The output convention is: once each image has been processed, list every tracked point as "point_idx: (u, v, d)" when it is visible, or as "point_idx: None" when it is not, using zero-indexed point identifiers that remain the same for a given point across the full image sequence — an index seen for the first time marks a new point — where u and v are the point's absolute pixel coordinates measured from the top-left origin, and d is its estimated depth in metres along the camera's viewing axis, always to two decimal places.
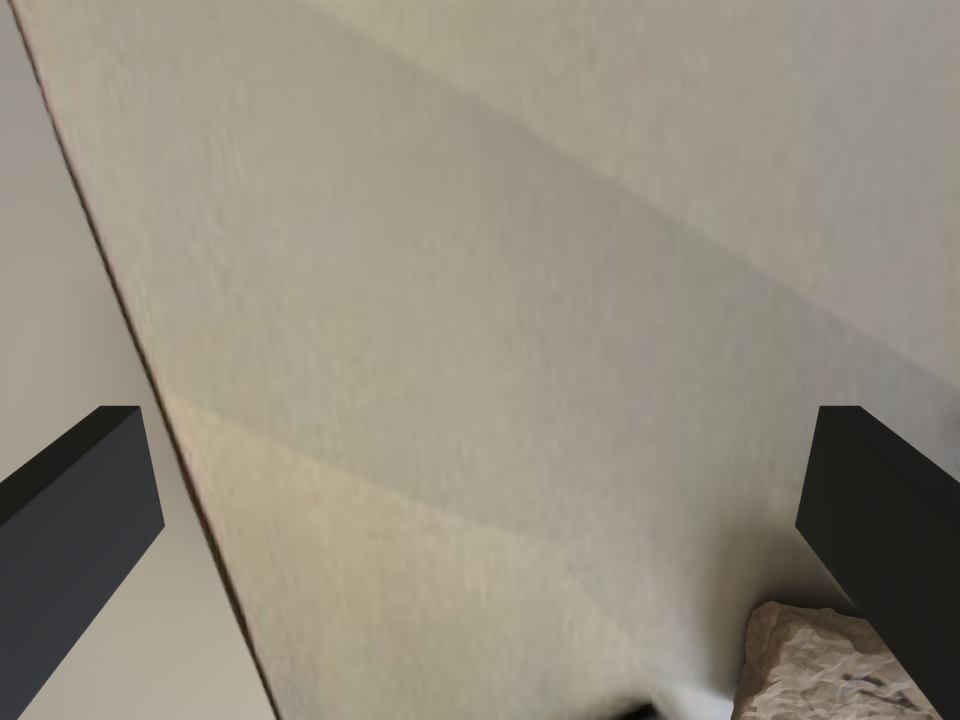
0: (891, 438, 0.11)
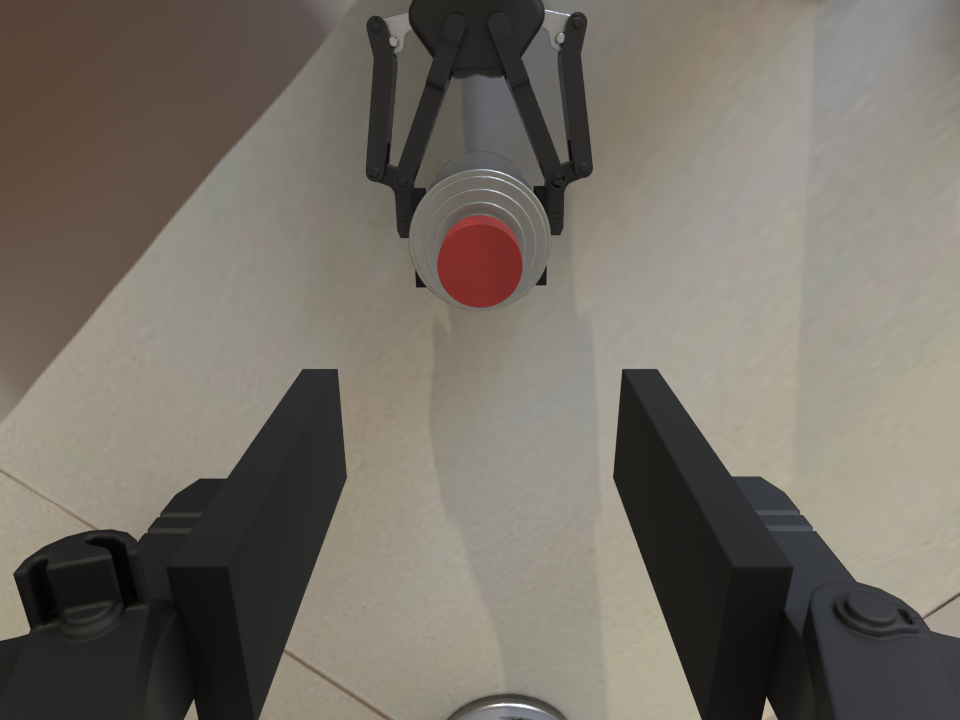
0: (665, 393, 0.13)
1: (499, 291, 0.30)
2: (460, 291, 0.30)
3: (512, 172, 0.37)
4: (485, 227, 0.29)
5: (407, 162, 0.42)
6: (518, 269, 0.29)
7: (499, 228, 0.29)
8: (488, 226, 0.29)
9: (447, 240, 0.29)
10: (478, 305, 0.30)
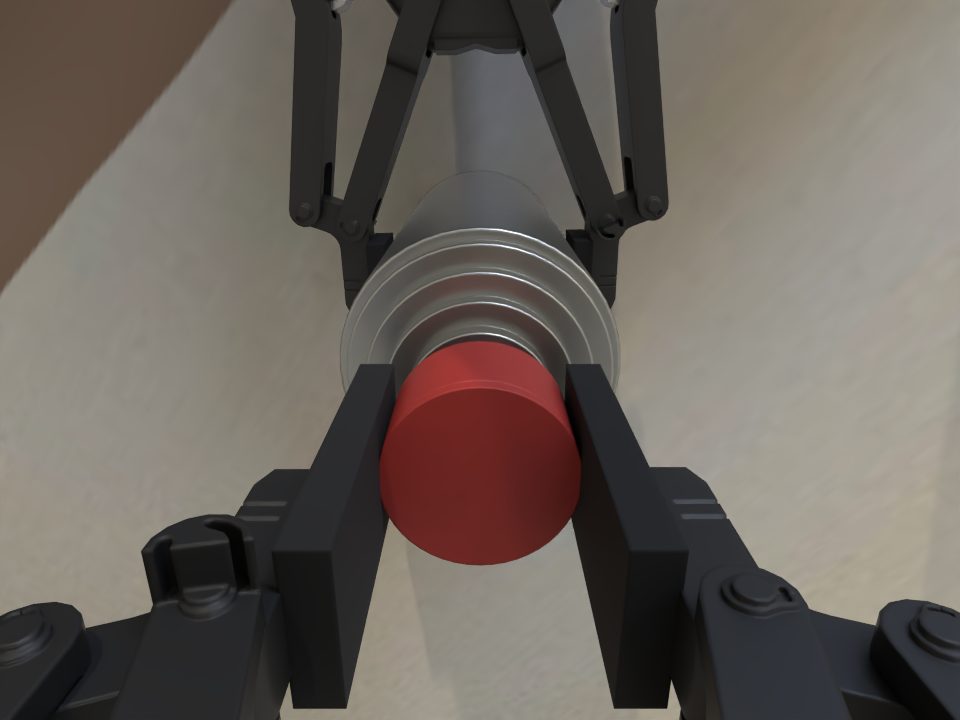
0: (602, 387, 0.13)
1: (526, 533, 0.13)
2: (434, 533, 0.13)
3: (540, 223, 0.20)
4: (493, 395, 0.12)
5: (358, 196, 0.25)
6: (572, 487, 0.12)
7: (528, 397, 0.12)
8: (501, 393, 0.12)
9: (400, 424, 0.12)
10: (476, 561, 0.13)
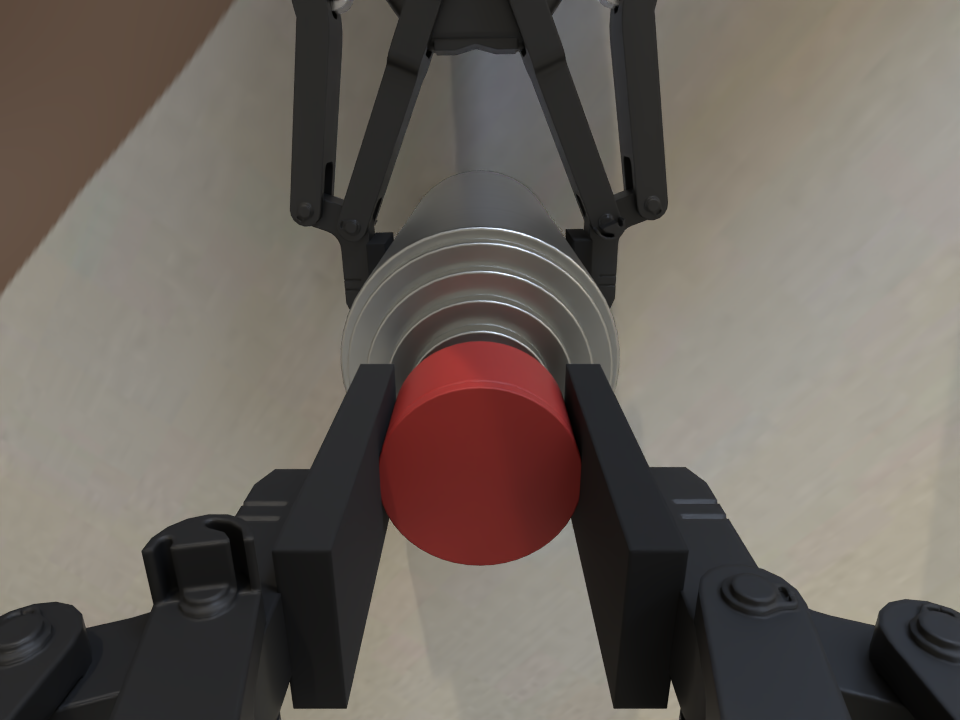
0: (602, 387, 0.13)
1: (510, 417, 0.12)
2: (556, 491, 0.12)
3: (540, 222, 0.20)
4: (394, 512, 0.12)
5: (358, 195, 0.25)
6: (437, 406, 0.12)
7: None
8: (388, 508, 0.12)
9: (465, 561, 0.13)
10: (567, 442, 0.12)
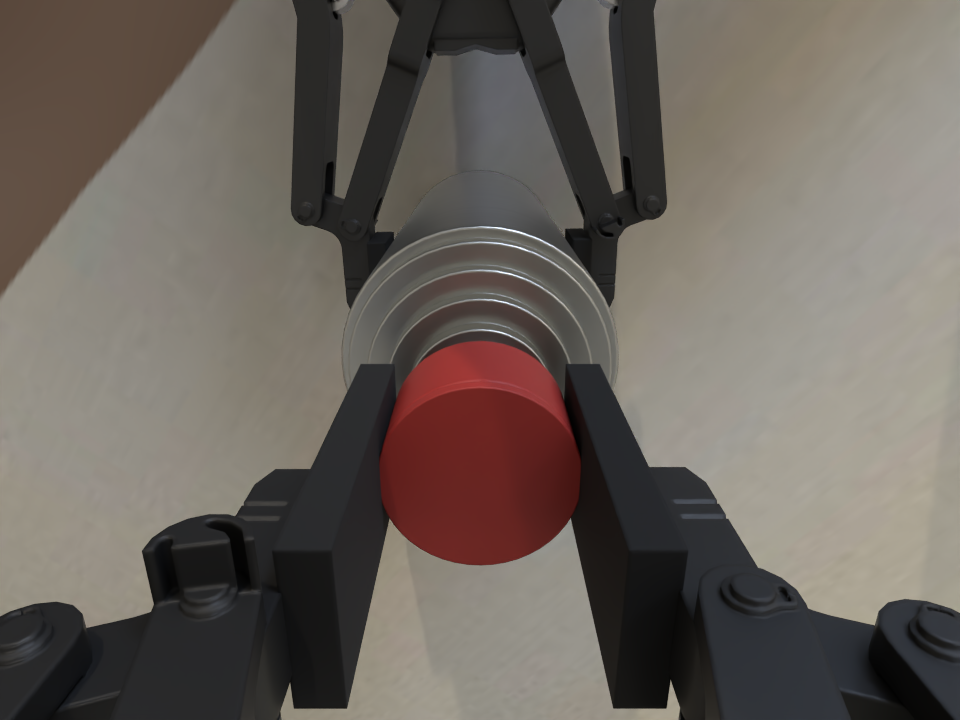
0: (602, 387, 0.13)
1: (403, 491, 0.12)
2: (449, 417, 0.12)
3: (539, 221, 0.20)
4: (552, 529, 0.13)
5: (359, 195, 0.26)
6: (430, 545, 0.13)
7: (533, 549, 0.13)
8: (551, 536, 0.13)
9: (574, 449, 0.12)
10: (395, 436, 0.12)
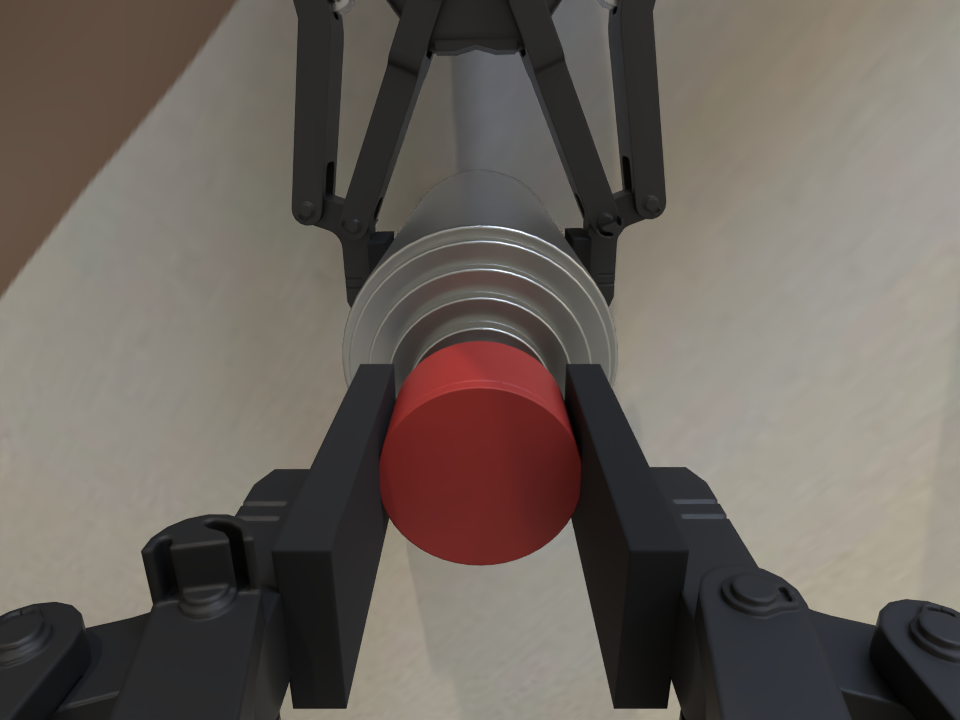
0: (602, 387, 0.13)
1: (526, 532, 0.13)
2: (434, 533, 0.13)
3: (539, 221, 0.20)
4: (493, 395, 0.12)
5: (359, 195, 0.26)
6: (572, 487, 0.12)
7: (527, 396, 0.12)
8: (500, 393, 0.12)
9: (399, 424, 0.12)
10: (477, 561, 0.13)
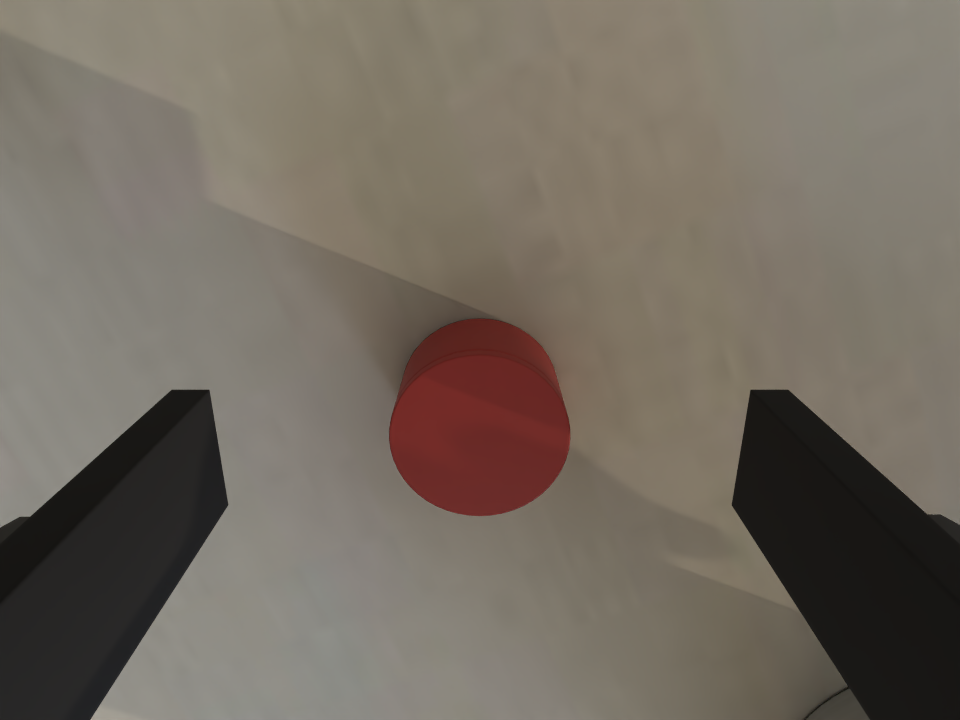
0: (810, 418, 0.12)
1: (520, 486, 0.14)
2: (439, 486, 0.14)
3: None
4: (490, 362, 0.13)
5: None
6: (561, 444, 0.14)
7: (521, 363, 0.13)
8: (497, 360, 0.13)
9: (409, 388, 0.13)
10: (477, 512, 0.14)
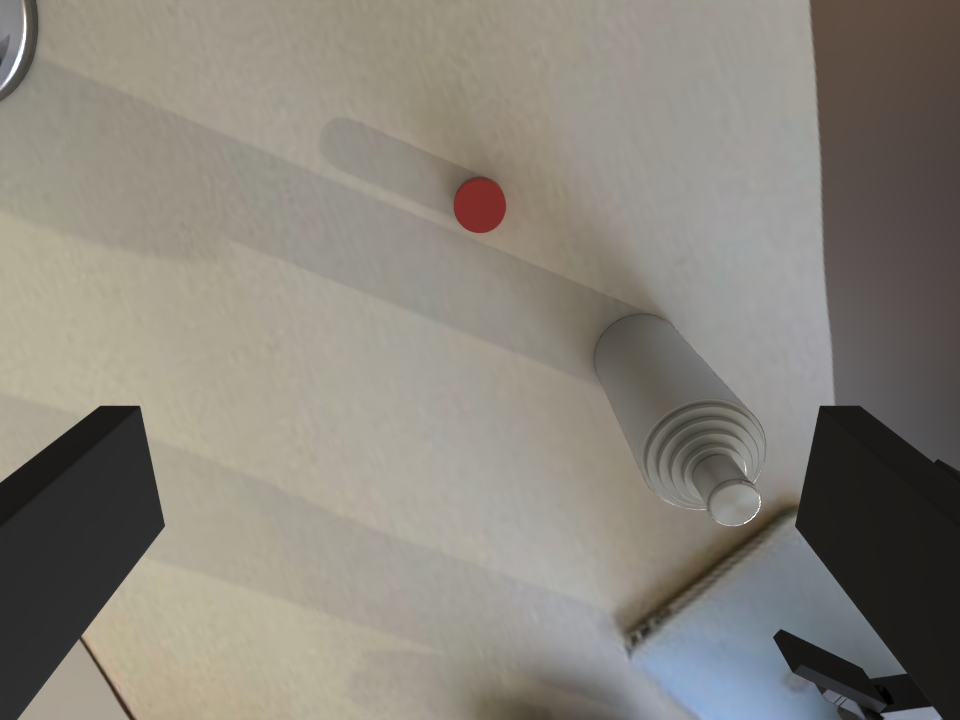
0: (891, 438, 0.11)
1: (491, 222, 0.49)
2: (468, 222, 0.49)
3: None
4: (483, 182, 0.48)
5: None
6: (503, 208, 0.48)
7: (491, 183, 0.48)
8: (484, 181, 0.48)
9: (460, 190, 0.48)
10: (479, 231, 0.49)
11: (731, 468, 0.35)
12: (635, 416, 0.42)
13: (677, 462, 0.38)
